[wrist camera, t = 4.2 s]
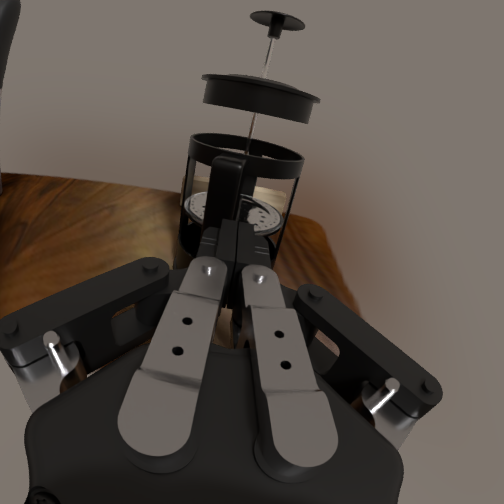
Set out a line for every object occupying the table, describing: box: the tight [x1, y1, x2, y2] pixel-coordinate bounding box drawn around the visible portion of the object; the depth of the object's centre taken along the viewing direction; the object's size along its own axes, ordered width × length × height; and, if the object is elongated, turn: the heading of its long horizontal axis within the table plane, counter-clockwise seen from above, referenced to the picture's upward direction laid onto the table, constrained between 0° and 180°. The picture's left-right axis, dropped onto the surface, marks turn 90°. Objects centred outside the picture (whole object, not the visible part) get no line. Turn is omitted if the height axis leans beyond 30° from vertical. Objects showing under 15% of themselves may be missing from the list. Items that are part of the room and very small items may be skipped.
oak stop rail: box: [180, 176, 286, 215], centre depth 38 cm, size 14×2×4 cm, turn 91°
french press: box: [173, 11, 320, 304], centre depth 20 cm, size 12×9×23 cm
